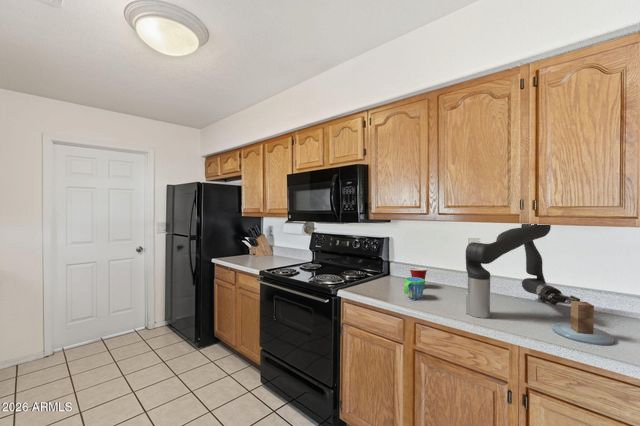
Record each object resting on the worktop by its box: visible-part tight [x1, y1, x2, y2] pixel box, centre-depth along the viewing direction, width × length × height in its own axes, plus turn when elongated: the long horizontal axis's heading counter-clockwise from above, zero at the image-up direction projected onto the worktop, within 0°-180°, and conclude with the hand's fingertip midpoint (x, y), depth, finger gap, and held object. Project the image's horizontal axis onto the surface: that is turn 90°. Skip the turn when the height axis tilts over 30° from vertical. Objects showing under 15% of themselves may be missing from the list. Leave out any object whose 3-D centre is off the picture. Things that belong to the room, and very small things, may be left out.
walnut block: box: [570, 300, 595, 334], centre depth 116 cm, size 5×5×11 cm
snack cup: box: [403, 276, 426, 300], centre depth 164 cm, size 16×10×10 cm
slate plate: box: [552, 322, 615, 346], centre depth 116 cm, size 18×18×1 cm
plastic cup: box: [408, 267, 428, 281], centre depth 185 cm, size 11×11×12 cm
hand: (566, 304), depth 127 cm, fingers open, 8 cm apart
